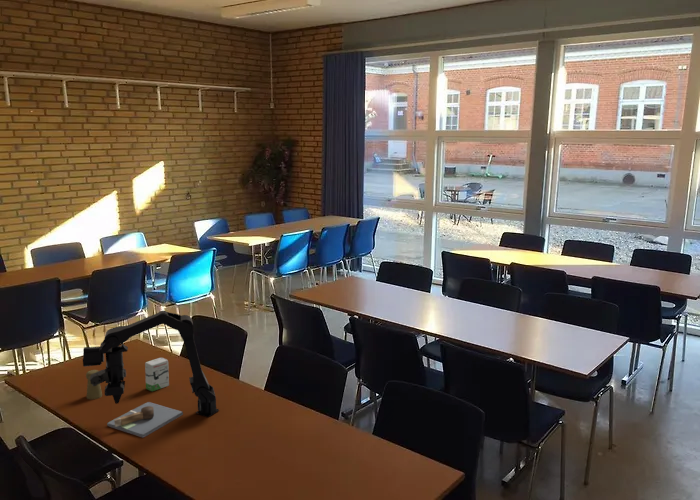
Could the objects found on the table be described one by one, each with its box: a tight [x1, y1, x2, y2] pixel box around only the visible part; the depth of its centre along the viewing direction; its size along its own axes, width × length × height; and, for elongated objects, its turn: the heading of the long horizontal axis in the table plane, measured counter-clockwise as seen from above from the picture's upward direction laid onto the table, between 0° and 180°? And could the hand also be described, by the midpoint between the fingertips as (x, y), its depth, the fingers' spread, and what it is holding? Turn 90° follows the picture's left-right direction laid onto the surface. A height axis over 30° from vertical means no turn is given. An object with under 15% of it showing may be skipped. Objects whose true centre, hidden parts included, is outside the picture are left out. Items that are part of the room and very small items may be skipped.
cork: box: [85, 369, 103, 400], centre depth 234 cm, size 6×6×11 cm
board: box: [107, 401, 184, 438], centre depth 216 cm, size 18×20×1 cm
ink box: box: [144, 357, 170, 392], centre depth 244 cm, size 9×5×12 cm, turn 143°
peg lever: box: [113, 406, 154, 427], centre depth 211 cm, size 14×4×3 cm, turn 131°
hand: (117, 403), depth 211 cm, fingers closed
